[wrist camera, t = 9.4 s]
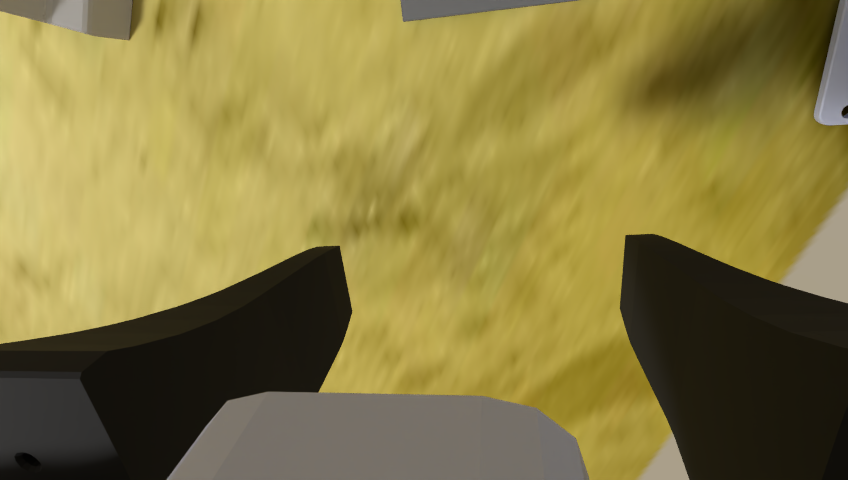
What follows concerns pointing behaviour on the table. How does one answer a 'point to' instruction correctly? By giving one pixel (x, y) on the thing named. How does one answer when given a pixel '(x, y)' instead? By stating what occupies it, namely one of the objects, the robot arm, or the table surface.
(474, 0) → the mat
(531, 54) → the table surface
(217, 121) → the table surface
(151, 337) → the robot arm
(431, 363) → the table surface
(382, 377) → the table surface
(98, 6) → the hinge
